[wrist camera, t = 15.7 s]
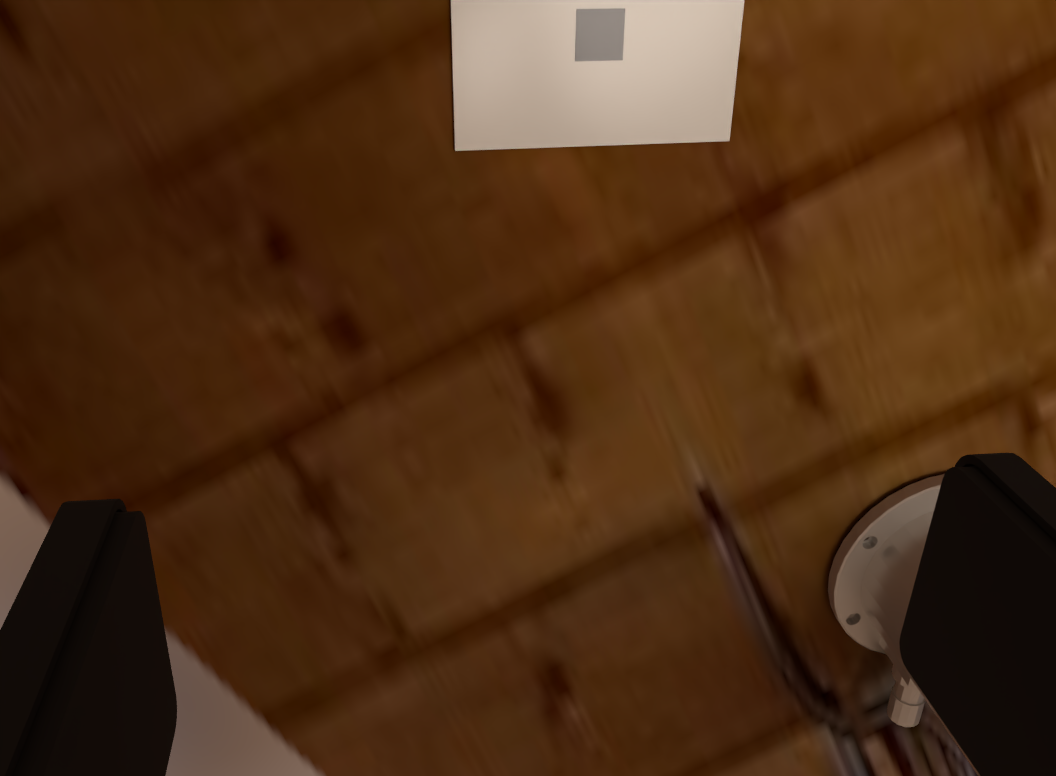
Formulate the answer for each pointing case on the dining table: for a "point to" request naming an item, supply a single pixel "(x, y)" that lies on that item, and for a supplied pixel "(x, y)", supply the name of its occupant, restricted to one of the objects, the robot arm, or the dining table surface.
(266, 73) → the dining table surface
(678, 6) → the tile
